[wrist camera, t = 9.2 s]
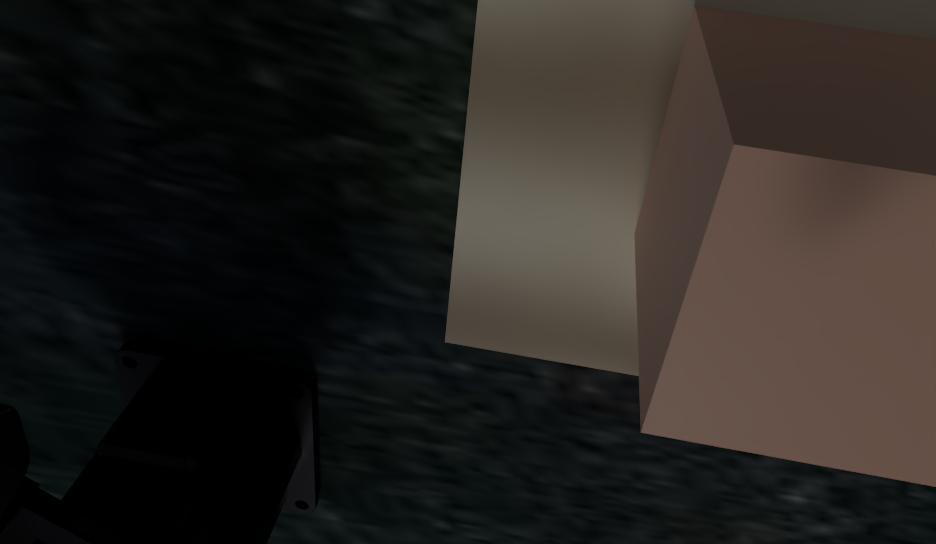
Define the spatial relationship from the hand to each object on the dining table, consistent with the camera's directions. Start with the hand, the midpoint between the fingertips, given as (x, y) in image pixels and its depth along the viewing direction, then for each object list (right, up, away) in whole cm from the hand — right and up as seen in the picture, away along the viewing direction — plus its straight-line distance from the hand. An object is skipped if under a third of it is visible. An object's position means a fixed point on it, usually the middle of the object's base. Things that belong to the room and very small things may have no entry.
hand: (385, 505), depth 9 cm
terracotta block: (+7, +5, +6) cm, 11 cm away
